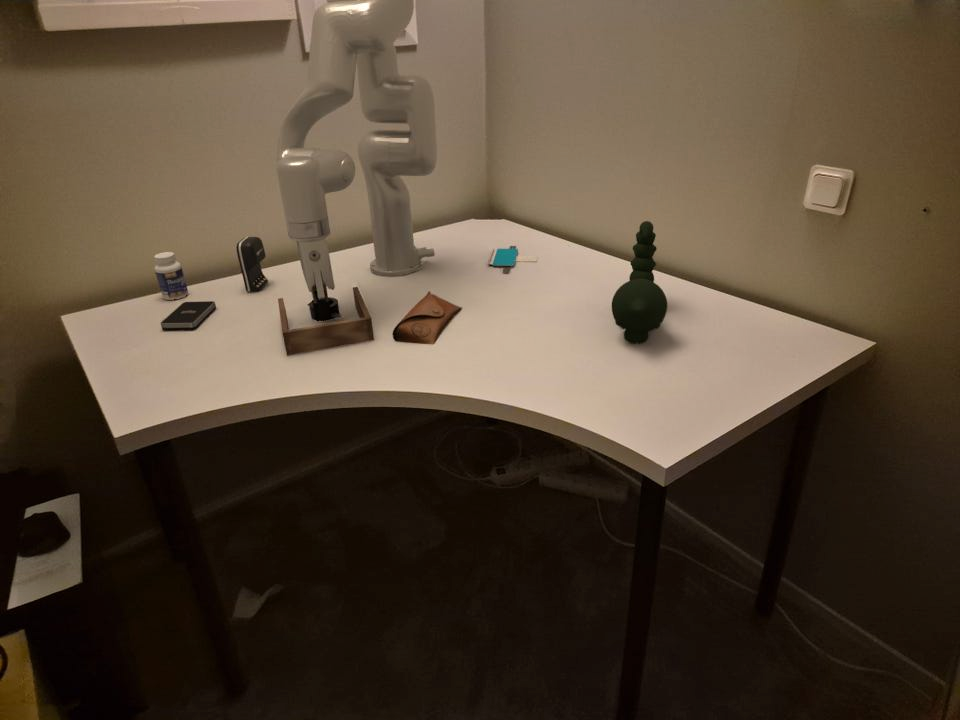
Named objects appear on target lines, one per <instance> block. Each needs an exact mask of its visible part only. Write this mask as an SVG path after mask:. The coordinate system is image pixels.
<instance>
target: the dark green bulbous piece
mask: <svg viewBox="0 0 960 720" xmlns="http://www.w3.org/2000/svg"><path fill="white" fill-rule="evenodd" d="M656 237H657V235H656V233H655V232H654V224H653V222H651V221H649V220H645V221H642V222H641V223H640V225H639V230H638V231H637V232H636V233H635V239H636V243H635V244H634V245H633V246H632V250H633V254H634V256H635V257H633V259H632V260H631V261H630V266H631V268H632V271H631V272H630V274H629V278H628V280H629V281H626V282H625V283H623V284H622V285H620V286H619V288H617V290H616V292H615V293H614V295H613V296H612V297H613V298H612V300H611V312H612V317H613V319H614V322H615V325H616V326H618V327H621V328H622V329H623V330H624V331H623V338H624V340H625V341H626V342H628V343H630V344H639V345H640V344H645V343H646V342H647V341H648V340H649V337H650V331H654V330H657V329H659V328H660V327H661V324H662V323H663V321H664V319H665V317H666V315H667V312H668V299H667V296H666V293H665V292H664V290H663V289H662V288H661V287H660V286H659V285H658V284H657V283H655V275H654V273H653V271H654V268H656V266H657V263H656V261H655V259H654V258H653V257H654V255H655V252H656V251H657V249H658V248H657V246H656V245H655V244H654V243H655V240H656Z"/></svg>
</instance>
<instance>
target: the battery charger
mask: <svg viewBox="0 0 960 720" xmlns="http://www.w3.org/2000/svg"><path fill="white" fill-rule="evenodd" d="M236 254H237V258H238V263H239V268H240V272H241V275H242V278H243V282H244V284H243V285H244V288H245V291H246V292H248V293H249V292H250V293H251V292H259V291H261V290H262V289H264V287H265V286H267V284H268V283H269V280H268V279H267V277H266V276H265V275H264V272H263V270H262V266H261V263H262V261H263V260H264V259H266V251H265V247H264V244H263V240H262V239H261V238H260V237H258V236H249V235H248V236H245V237H243V238H242V239H240V240H239V241H237V243H236Z"/></svg>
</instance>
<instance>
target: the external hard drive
mask: <svg viewBox="0 0 960 720" xmlns="http://www.w3.org/2000/svg"><path fill="white" fill-rule="evenodd" d="M215 309H216V310H217V306H216V301H215V300H209V301H208V300H207V301H205V300H203V301H201V300H199V301H184V302H182V303H181V304H180V305H178V306H177V307H176V308H175V309H174V310H173V311H171V313H170V314H168V315H167V316H166V317H165V318H164V319H163V320H161V321H160V323H159V324H160V327H161V329H162V331H164V332H167V331H168V332H169V331H170V332H171V331H173V332H174V331H175V332H176V331H178V330H184V331H195V330H197V329H198V328H199V327H200V326H201V325H202V324H203V323H204V322H205V321H206V320H207V319H208V318H209V317H210V316H211V315H212V314H213V313H214V312H215V311H216V310H215ZM214 310H215V311H214ZM213 311H214V312H213ZM212 312H213V313H212ZM211 313H212V314H211ZM210 314H211V315H210ZM209 315H210V316H209ZM208 316H209V317H208ZM207 317H208V318H207ZM206 318H207V319H206ZM205 319H206V320H205ZM204 320H205V321H204ZM203 321H204V322H203ZM202 322H203V323H202ZM201 323H202V324H201ZM200 324H201V325H200Z"/></svg>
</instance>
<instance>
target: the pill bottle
mask: <svg viewBox="0 0 960 720" xmlns="http://www.w3.org/2000/svg"><path fill="white" fill-rule="evenodd" d="M154 260H155V263H156V265H155V266H154V273H155V276H156V279H157V283H158V286H159V288H160V292H161V296H162V298H163V300H166V301H175V300H174V299H177V300H181V299H183V298H185V297H187V296H188V295H189V290H188V286H187V282H186V279H185V278H186V277H185V274H184V271H183V268H182V265H181V263H180V262H179V261H176V255H175V253H174V251H173V252H171V251H165V252H160V253H157V254H155V255H154ZM186 295H187V296H186ZM182 297H183V298H182ZM180 298H181V299H180Z"/></svg>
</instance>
